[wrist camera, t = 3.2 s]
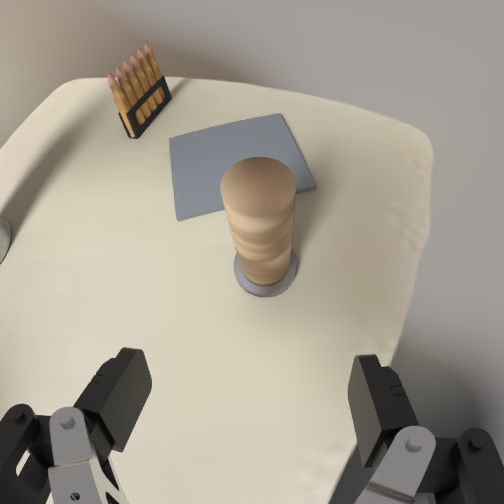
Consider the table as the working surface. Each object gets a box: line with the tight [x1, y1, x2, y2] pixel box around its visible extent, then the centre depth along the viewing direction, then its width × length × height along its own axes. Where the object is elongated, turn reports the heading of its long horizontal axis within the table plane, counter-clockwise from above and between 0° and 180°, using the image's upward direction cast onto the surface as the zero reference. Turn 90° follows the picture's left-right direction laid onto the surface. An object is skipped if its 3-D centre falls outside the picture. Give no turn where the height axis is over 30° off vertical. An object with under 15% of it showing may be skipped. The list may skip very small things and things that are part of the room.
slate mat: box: [169, 114, 316, 221], centre depth 36 cm, size 16×14×1 cm
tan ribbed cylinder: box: [220, 157, 297, 297], centre depth 23 cm, size 6×6×13 cm
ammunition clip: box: [108, 43, 172, 139], centre depth 37 cm, size 11×2×12 cm, turn 160°
